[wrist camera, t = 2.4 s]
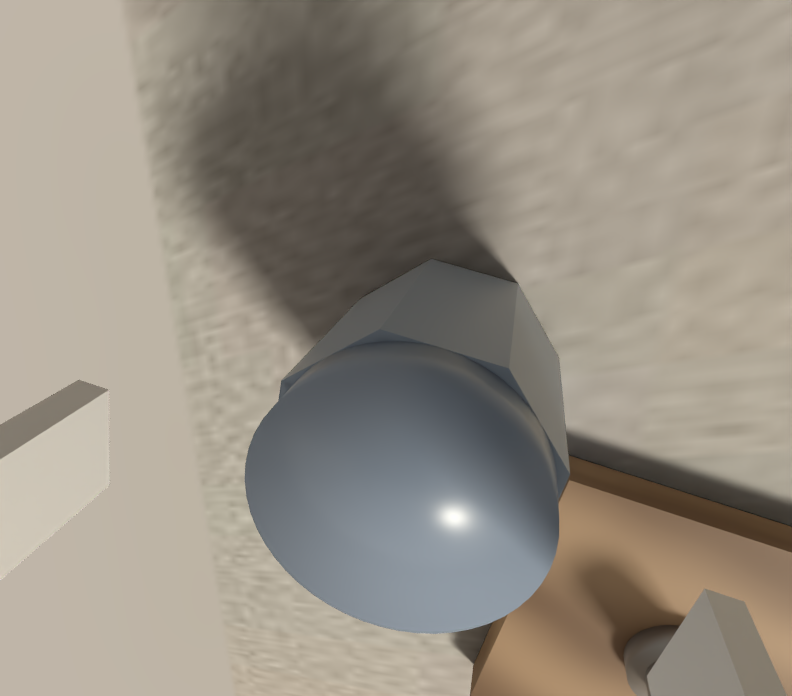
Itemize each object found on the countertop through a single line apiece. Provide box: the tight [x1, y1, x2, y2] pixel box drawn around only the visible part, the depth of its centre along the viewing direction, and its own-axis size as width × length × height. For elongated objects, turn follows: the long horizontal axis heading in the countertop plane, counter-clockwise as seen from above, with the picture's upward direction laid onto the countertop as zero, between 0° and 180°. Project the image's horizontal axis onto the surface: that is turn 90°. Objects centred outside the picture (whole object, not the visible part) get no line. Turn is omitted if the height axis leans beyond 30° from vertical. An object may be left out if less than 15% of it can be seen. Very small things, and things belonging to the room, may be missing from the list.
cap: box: [245, 259, 570, 634], centre depth 15 cm, size 7×7×8 cm
